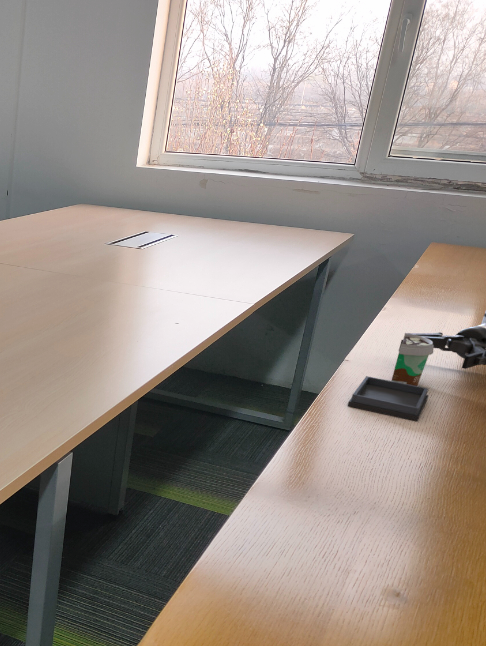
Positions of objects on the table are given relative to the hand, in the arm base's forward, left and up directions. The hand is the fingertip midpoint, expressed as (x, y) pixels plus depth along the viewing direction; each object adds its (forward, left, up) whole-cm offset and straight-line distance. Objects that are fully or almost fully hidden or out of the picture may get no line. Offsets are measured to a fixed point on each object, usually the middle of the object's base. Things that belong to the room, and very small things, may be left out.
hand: (432, 354), depth 178 cm
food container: (+3, +7, -6) cm, 10 cm away
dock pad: (+4, +24, -6) cm, 25 cm away
